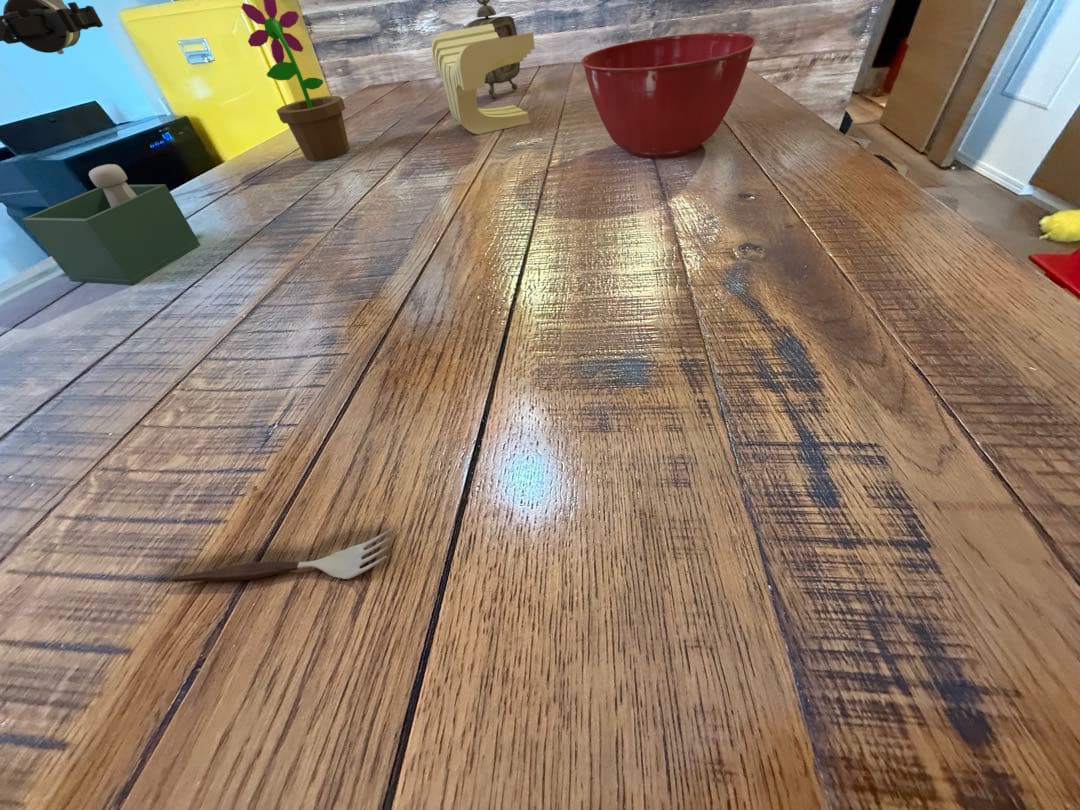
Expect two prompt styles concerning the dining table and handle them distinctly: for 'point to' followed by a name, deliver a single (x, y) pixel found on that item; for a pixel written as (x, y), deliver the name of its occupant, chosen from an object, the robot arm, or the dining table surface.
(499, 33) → the tabletop clock
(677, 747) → the dining table surface
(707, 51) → the mixing bowl
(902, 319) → the dining table surface
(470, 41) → the slatted curved stool
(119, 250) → the waste bin
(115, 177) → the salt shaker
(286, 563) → the fork
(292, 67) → the flowerpot
